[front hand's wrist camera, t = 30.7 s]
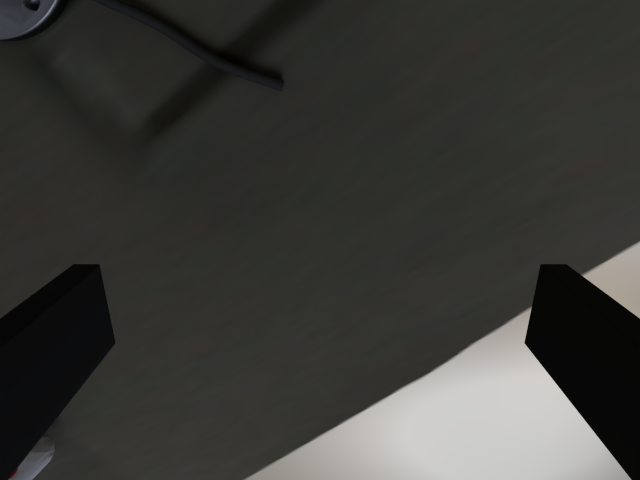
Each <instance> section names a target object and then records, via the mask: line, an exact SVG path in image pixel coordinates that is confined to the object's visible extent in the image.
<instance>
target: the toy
mask: <svg viewBox="0 0 640 480" xmlns="http://www.w3.org/2000/svg"><path fill="white" fill-rule="evenodd" d="M54 451H55V443H54V442H53V441H52V439H51V438H49V437H41V439H40V440H39V441H38V442H37V444H36V445H35V446H34V448H33V449H32V450H31V451H30V453H29V454H28V455H27V456H26V458H25V459H24V460H23V462H22V463H21V464H20V465H19V467H18V468H17V469H16V470H15V472H14V473H13V474H12V476H11V477H10V478H9V479H8V480H32V479H33V478H34V477H35V476H36V475H37V474H38V473H39V472H40V471H41V470H42V469H43V468H44V467H45V466H46V465H47V464H48V463H49V462H50V460H51V458H52V457H53V454H54Z"/></svg>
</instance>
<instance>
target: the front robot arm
mask: <svg viewBox="0 0 640 480" xmlns="http://www.w3.org/2000/svg"><path fill="white" fill-rule="evenodd" d="M94 1H96V2H98V3H100V4H102V5H104V6H107V7H109V8H111V9H113V10H115V11H117V12H120V13H122V14H124V15H126V16H129V17H131V18H133V19H135V20H137V21H140V22H142V23H144V24H146V25H148V26H150V27H152V28H153V29H155V30H157V31H159V32H161V33H162V34H164V35H166V36H167V37H169V38H170V39H172V40H174V41H175V42H177V43H178V44H179V45H181V46H182V47H184V48H185V49H187V50H188V51H190V52H191V53H193V54H194V55H196V56H197V57H199V58H201V59H202V60H204V61H206V62H208V63H209V64H211V65H213V66H215V67H217V68H219V69H221V70H224V71H226V72H228V73H231V74H233V75H236V76H238V77H241V78H244V79H247V80H250V81H253V82H256V83H259V84H262V85H265V86H268V87H271V88H274V89H277V90H280V91H282V88H283V85H284V81H283V80H280V79H277V78H274V77H271V76H268V75H265V74H262V73H259V72H256V71H253V70H250V69H247V68H244V67H242V66H239V65H237V64H234V63H232V62H230V61H227V60H225V59H223V58H221V57H219V56H217V55H215V54H213V53H212V52H210V51H208V50H206V49H205V48H203V47H202V46H200V45H199V44H197V43H196V42H194V41H193V40H191V39H190V38H188V37H187V36H185V35H184V34H182V33H181V32H179V31H178V30H176V29H175V28H173V27H172V26H170V25H168V24H167V23H165V22H163V21H162V20H160V19H158V18H156V17H154V16H152V15H150V14H148V13H146V12H144V11H142V10H140V9H138V8H136V7H134V6H132V5H129V4H127V3H125V2H123V1H121V0H94ZM67 3H68V0H0V41H18V40H23V39H27V38H30V37H33V36H35V35H37V34H39V33H41V32H42V31H44V30H45V29H47V28H48V27H49V26H50V25H51V24H53V23H54V22H55V21H56V19H57V18H58V17H59V16H60V14H61V13H62V11H63V10H64V8H65V6H66V4H67ZM114 344H115V339H114V334H113V329H112V324H111V319H110V314H109V309H108V304H107V300H106V295H105V290H104V285H103V280H102V275H101V270H100V265H99V264H73V265H72V266H71V267H69V268H68V269H67V270H65V271H64V272H63V273H61V274H60V275H59V276H57V277H56V278H55V279H53V280H52V281H51V282H49V283H48V284H46V285H45V286H44V287H42V288H41V289H40V290H38V291H37V292H36V293H34V294H33V295H32V296H30V297H29V298H28V299H26V300H25V301H24V302H22V303H21V304H19V305H18V306H17V307H15V308H14V309H13V310H11V311H10V312H9V313H7V314H6V315H5V316H3V317H2V318H1V319H0V480H8V479H9V478H10V477H11V476H12V474H13V473H14V472H15V470H16V469H17V468H18V467H19V465H20V464H21V463H22V462H23V460H24V459H25V458H26V456H27V455H28V454H29V453H30V451H31V450H32V449H33V448H34V446H35V445H36V444H37V442H38V441H39V440H40V439H41V437H42V436H43V435H44V433H45V432H46V431H47V430H48V428H49V427H50V426H51V425H52V423H53V422H54V421H55V419H56V418H57V417H58V416H59V414H60V413H61V412H62V411H63V409H64V408H65V407H66V405H67V404H68V403H69V402H70V400H71V399H72V398H73V396H74V395H75V394H76V393H77V391H78V390H79V389H80V388H81V386H82V385H83V384H84V382H85V381H86V380H87V379H88V377H89V376H90V375H91V374H92V372H93V371H94V370H95V368H96V367H97V366H98V365H99V363H100V362H101V361H102V359H103V358H104V357H105V356H106V354H107V353H108V352H109V351H110V349H111V348H112V347H113V345H114ZM525 344H526V345H527V347H528V348H529V349H530V351H531V352H532V353H533V354H534V356H535V357H536V358H537V359H538V361H539V362H540V363H541V364H542V366H543V367H544V368H545V370H546V371H547V372H548V374H549V375H550V376H551V377H552V379H553V380H554V381H555V382H556V384H557V385H558V386H559V388H560V389H561V390H562V391H563V393H564V394H565V395H566V396H567V398H568V399H569V400H570V402H571V403H572V404H573V405H574V407H575V408H576V409H577V410H578V412H579V413H580V414H581V416H582V417H583V418H584V419H585V421H586V422H587V423H588V425H589V426H590V427H591V428H592V430H593V431H594V432H595V433H596V435H597V436H598V437H599V439H600V440H601V441H602V442H603V444H604V445H605V446H606V448H607V449H608V450H609V451H610V453H611V454H612V455H613V456H614V458H615V459H616V460H617V462H618V463H619V464H620V465H621V467H622V468H623V469H624V470H625V472H626V473H627V474H628V476H629V477H630V478H631V479H632V480H640V319H639V318H638V317H637V316H635V315H634V314H633V313H631V312H630V311H629V310H627V309H626V308H625V307H623V306H622V305H620V304H619V303H618V302H616V301H615V300H614V299H612V298H611V297H610V296H608V295H607V294H606V293H604V292H603V291H602V290H600V289H599V288H598V287H596V286H595V285H593V284H592V283H591V282H589V281H588V280H587V279H585V278H584V277H583V276H581V275H580V274H579V273H577V272H576V271H575V270H573V269H572V268H571V267H569V266H568V265H567V264H541V265H540V270H539V275H538V280H537V285H536V290H535V295H534V300H533V304H532V309H531V314H530V319H529V324H528V329H527V334H526V339H525Z"/></svg>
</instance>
